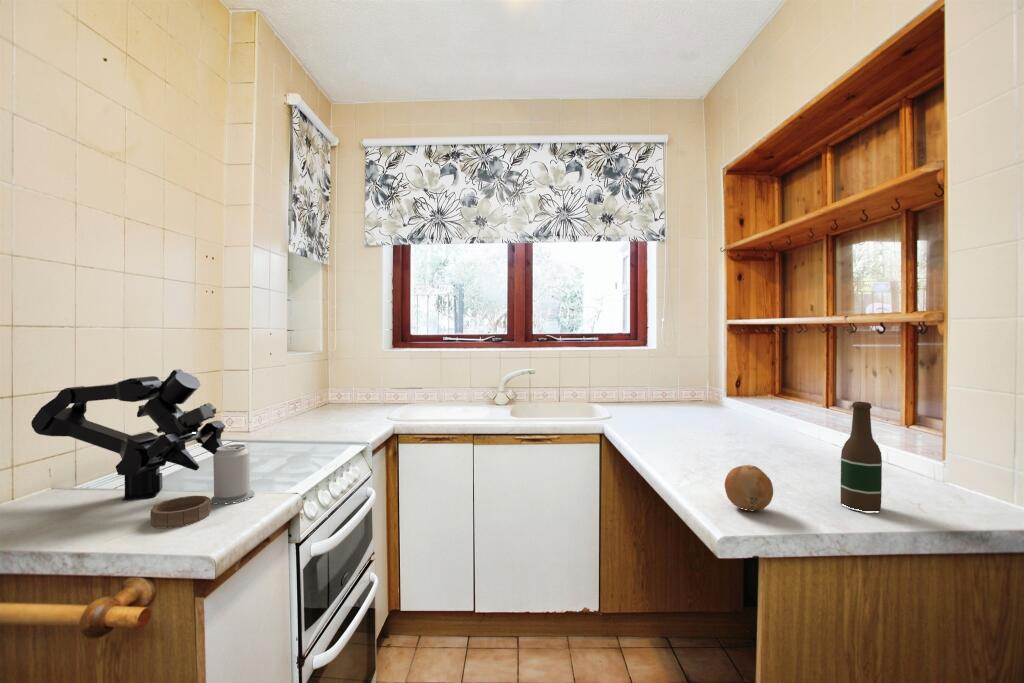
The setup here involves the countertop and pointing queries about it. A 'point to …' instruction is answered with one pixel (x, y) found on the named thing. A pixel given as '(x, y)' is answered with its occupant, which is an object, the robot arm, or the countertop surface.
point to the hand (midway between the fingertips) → (212, 463)
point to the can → (231, 472)
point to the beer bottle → (861, 464)
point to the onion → (749, 487)
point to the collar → (180, 511)
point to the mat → (218, 501)
